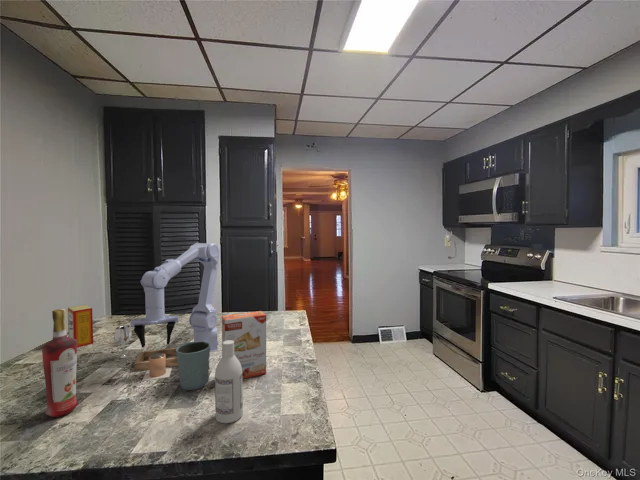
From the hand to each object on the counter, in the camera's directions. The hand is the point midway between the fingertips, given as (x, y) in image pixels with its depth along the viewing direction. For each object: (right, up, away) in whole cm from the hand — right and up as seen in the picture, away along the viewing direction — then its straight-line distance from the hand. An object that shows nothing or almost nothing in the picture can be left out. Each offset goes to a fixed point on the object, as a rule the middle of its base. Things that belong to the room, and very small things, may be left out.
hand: (156, 344), depth 106 cm
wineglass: (-19, -10, +13) cm, 25 cm away
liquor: (-14, -11, -22) cm, 28 cm away
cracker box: (+31, -10, -1) cm, 33 cm away
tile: (+1, -10, -2) cm, 10 cm away
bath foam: (+32, -11, -24) cm, 42 cm away
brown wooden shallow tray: (-3, -10, +8) cm, 13 cm away
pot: (+1, -9, -1) cm, 9 cm away
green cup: (+16, -10, -7) cm, 20 cm away
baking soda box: (-48, -9, +28) cm, 57 cm away
